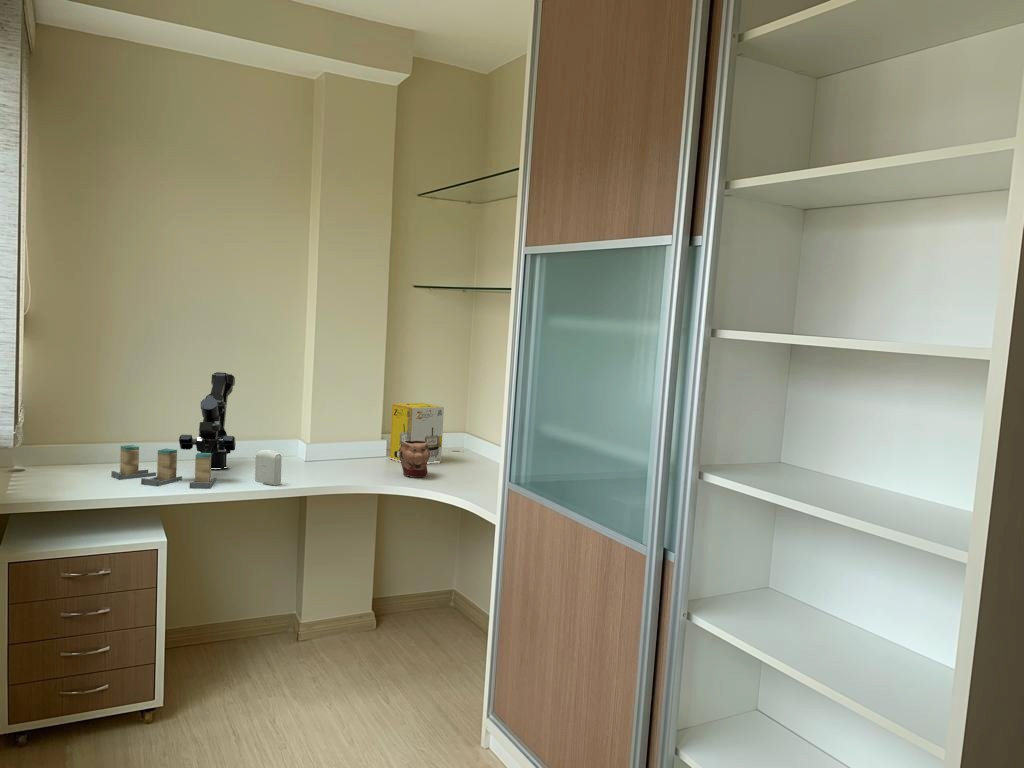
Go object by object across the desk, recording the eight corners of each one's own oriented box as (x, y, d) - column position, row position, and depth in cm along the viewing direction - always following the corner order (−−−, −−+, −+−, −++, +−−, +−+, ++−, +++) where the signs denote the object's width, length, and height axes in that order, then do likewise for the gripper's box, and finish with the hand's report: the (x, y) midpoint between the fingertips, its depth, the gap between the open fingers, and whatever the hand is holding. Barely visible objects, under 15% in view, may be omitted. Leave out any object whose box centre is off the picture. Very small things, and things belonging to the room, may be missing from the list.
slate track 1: (147, 474, 302) (147, 467, 302) (156, 477, 298) (156, 470, 298) (111, 477, 292) (111, 470, 292) (119, 481, 288) (120, 474, 288)
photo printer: (252, 482, 299) (254, 449, 298) (261, 480, 303) (262, 447, 302) (274, 486, 294) (275, 452, 293) (282, 484, 298) (283, 451, 297)
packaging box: (410, 466, 350) (413, 407, 348) (389, 459, 362) (392, 403, 360) (440, 463, 360) (444, 407, 359) (419, 457, 373) (422, 402, 371)
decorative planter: (391, 470, 337) (393, 437, 336) (420, 470, 342) (422, 437, 341) (406, 480, 319) (407, 445, 318) (435, 479, 324) (437, 444, 323)
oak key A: (132, 474, 297) (133, 444, 296) (138, 476, 294) (139, 446, 293) (120, 476, 294) (120, 445, 293) (125, 478, 291) (126, 447, 290)
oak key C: (196, 483, 289) (197, 452, 288) (210, 483, 290) (211, 453, 289) (194, 486, 285) (195, 454, 284) (208, 486, 286) (209, 455, 285)
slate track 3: (196, 481, 294) (196, 475, 294) (215, 482, 295) (216, 475, 295) (189, 489, 281) (189, 482, 281) (210, 490, 283) (210, 482, 282)
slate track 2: (165, 479, 296) (165, 472, 295) (182, 481, 294) (182, 474, 294) (141, 485, 283) (141, 478, 283) (158, 487, 281) (158, 480, 281)
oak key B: (165, 478, 294) (166, 448, 293) (176, 480, 293) (177, 449, 292) (157, 481, 289) (157, 450, 288) (168, 482, 288) (168, 451, 287)
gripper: (180, 412, 291) (173, 447, 281) (235, 413, 295) (230, 449, 285) (184, 431, 299) (177, 466, 289) (237, 432, 303) (232, 467, 293)
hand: (204, 461), depth 289 cm, fingers closed, pressing on oak key C
